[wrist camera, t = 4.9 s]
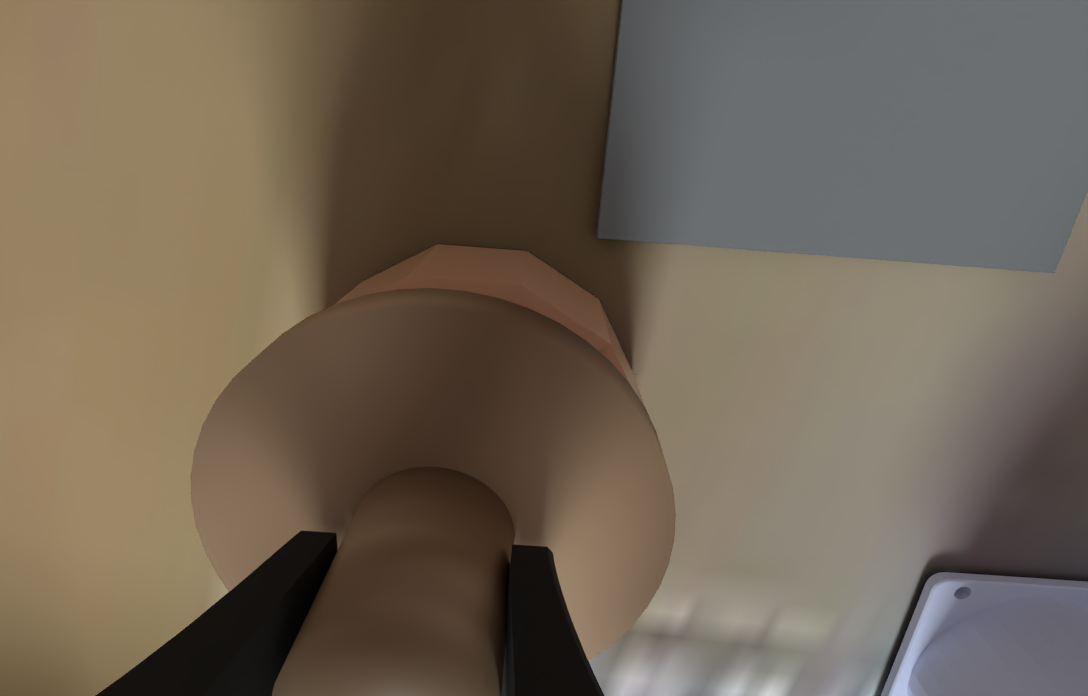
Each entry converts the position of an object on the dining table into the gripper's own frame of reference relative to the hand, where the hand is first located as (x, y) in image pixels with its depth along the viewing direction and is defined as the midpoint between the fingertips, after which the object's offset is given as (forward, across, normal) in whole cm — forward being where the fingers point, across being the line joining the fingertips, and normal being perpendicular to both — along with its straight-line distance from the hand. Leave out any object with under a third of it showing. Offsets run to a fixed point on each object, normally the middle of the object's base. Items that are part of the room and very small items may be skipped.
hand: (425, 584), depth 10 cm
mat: (+7, -9, -11) cm, 16 cm away
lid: (+2, 0, 0) cm, 2 cm away
